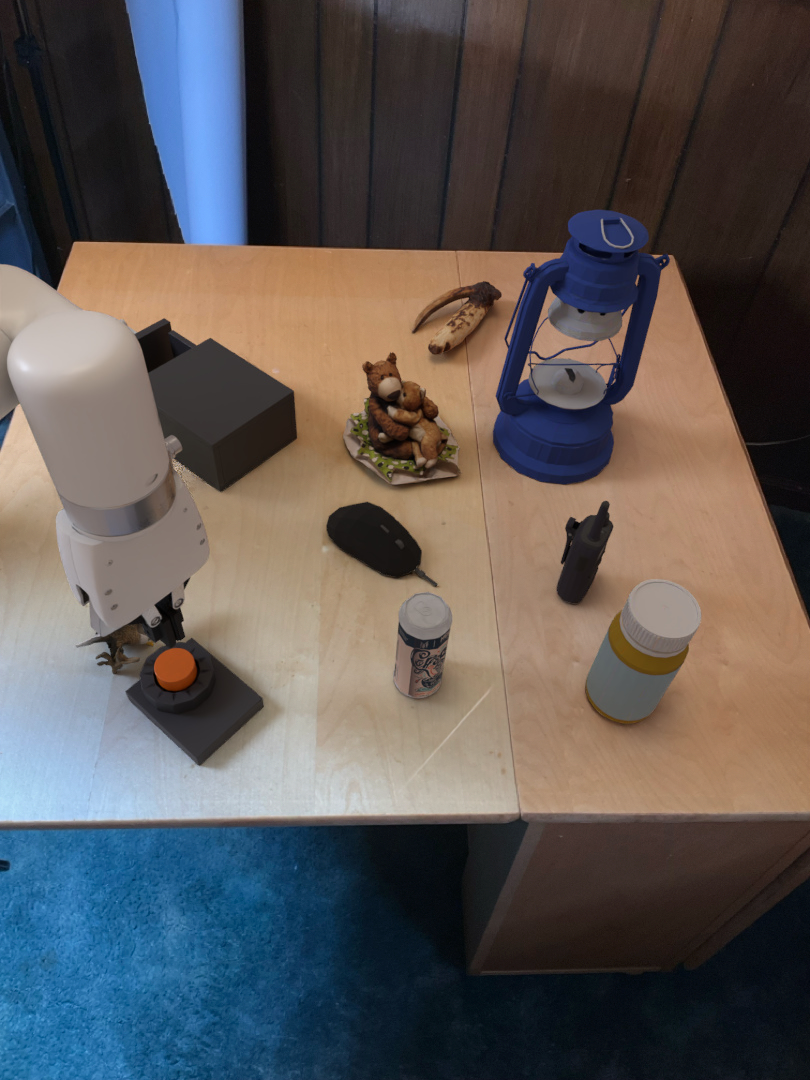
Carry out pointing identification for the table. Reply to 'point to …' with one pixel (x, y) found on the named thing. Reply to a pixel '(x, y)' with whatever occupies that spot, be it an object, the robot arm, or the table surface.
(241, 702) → the control block
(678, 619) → the bottle
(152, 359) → the open drawer
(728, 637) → the table surface
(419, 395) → the bear figurine
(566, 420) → the lantern
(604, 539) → the two-way radio
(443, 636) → the beer can
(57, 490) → the robot arm
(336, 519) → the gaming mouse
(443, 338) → the lashed bone hook
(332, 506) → the table surface
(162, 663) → the button
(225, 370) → the black drawer box
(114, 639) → the eagle figurine
